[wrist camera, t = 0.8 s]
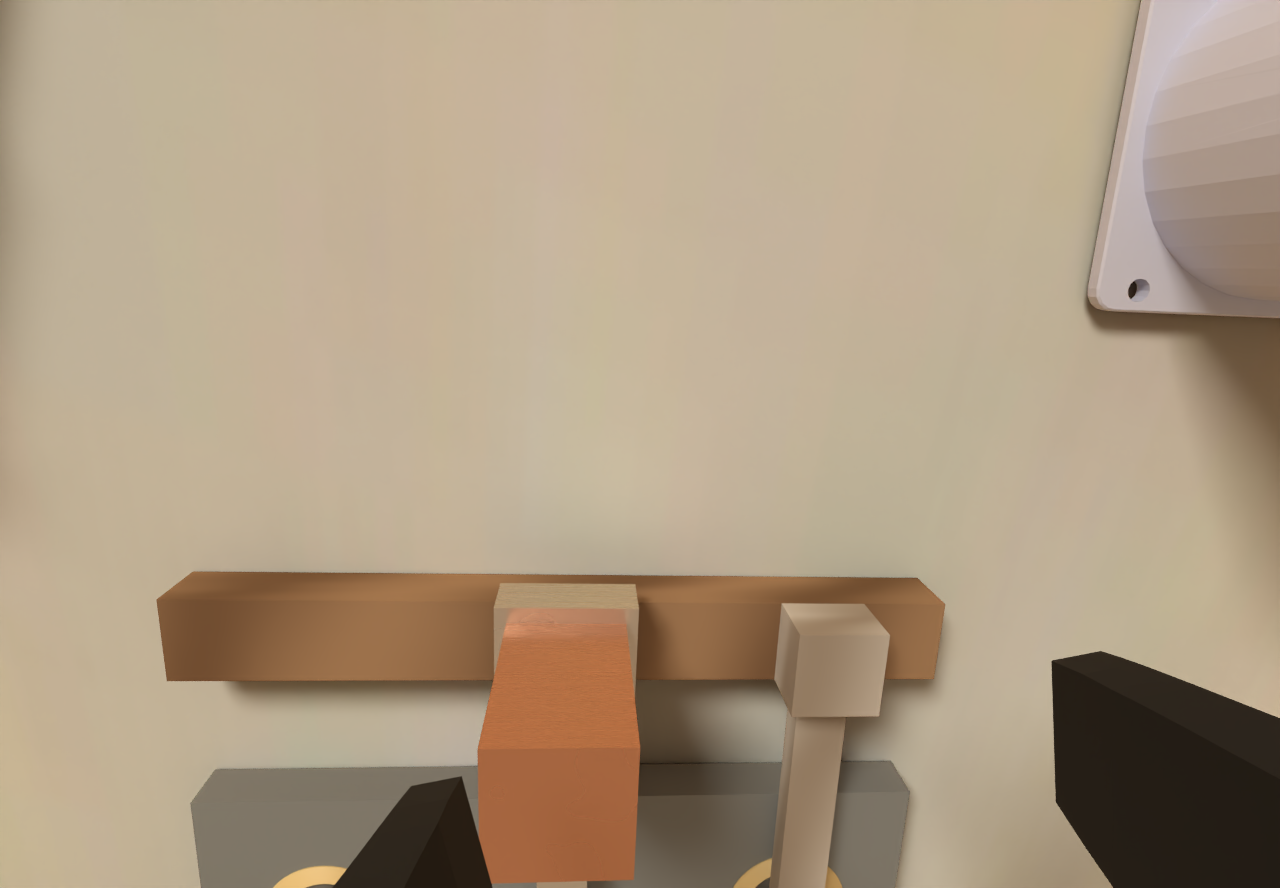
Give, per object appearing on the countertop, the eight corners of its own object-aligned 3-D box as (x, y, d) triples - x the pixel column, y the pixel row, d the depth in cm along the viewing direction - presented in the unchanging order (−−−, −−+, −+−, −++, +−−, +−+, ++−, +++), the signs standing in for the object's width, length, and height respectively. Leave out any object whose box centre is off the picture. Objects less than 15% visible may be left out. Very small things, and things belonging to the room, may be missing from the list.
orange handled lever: (634, 578, 16) (657, 728, 11) (619, 937, 19) (631, 1201, 14) (501, 577, 16) (460, 729, 11) (503, 941, 19) (470, 1211, 13)
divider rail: (917, 577, 19) (978, 635, 16) (873, 882, 21) (919, 982, 18) (192, 571, 17) (112, 633, 14) (230, 899, 19) (167, 1010, 17)
